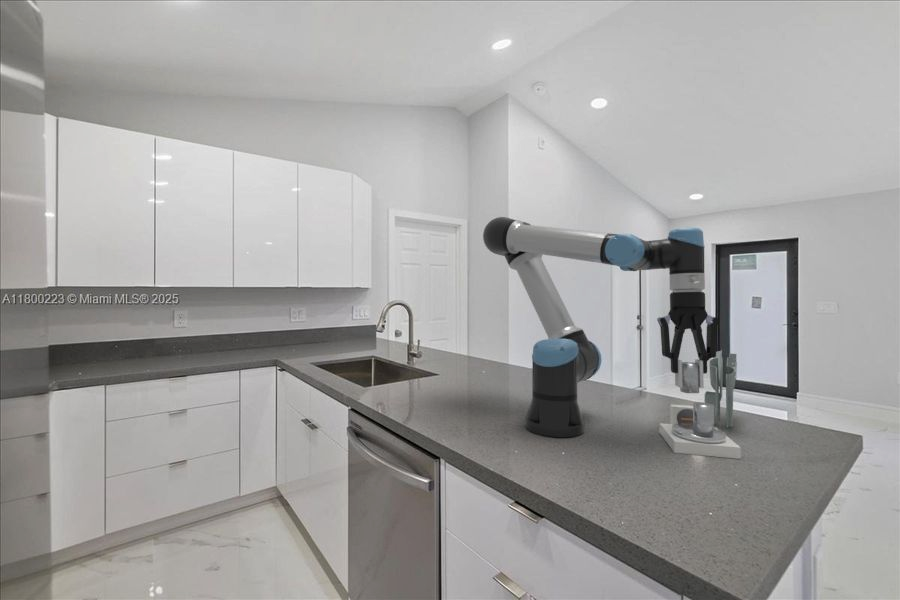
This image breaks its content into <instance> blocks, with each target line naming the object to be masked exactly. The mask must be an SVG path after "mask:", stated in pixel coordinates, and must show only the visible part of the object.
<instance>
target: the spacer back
mask: <svg viewBox="0 0 900 600" xmlns="http://www.w3.org/2000/svg"><path fill="white" fill-rule="evenodd" d="M682 383H683V387H679V390H680V392H681V393H685V394H700V387H699V367H698V363H695V361H694V362H691V361H682Z"/></svg>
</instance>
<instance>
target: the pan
mask: <svg viewBox="0 0 900 600" xmlns="http://www.w3.org/2000/svg"><path fill="white" fill-rule="evenodd" d="M716 428H717V427H714V437H713V438H703V437H699V436H696V435H694V434H693V424H689V423H680V424H674V425H672V433H673V434H675V435H677V436H679V437H681V438H684V439H688V440H692V441H697V442H704V443H722V442H725V441H726V436H727V434H726V432H725V431H722V430H721V429H719V428H717V429H716Z"/></svg>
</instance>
